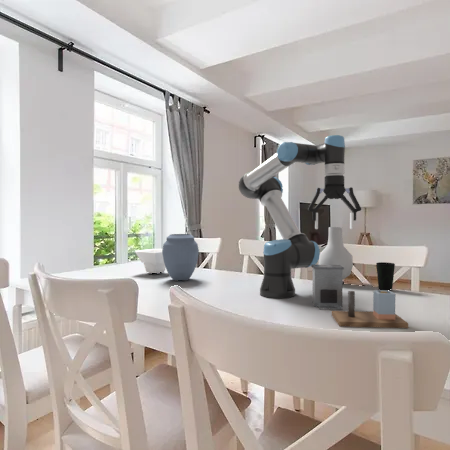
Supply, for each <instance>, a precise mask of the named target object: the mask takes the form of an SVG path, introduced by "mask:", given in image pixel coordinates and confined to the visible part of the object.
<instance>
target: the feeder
mask: <svg viewBox="0 0 450 450" xmlns="http://www.w3.org/2000/svg"><path fill="white" fill-rule="evenodd" d="M311 268H312V304H313V306H314V307H315V308H316V307H317V308H318V310H322V311H323V310H325V311H326V310H327V311H343V280H342V272H343V270H344V267H342V266H341V265H319V264H315V265H311Z"/></svg>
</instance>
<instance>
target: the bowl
mask: <svg viewBox="0 0 450 450" xmlns="http://www.w3.org/2000/svg"><path fill="white" fill-rule="evenodd" d="M162 249H163V248H148V249H140V250H135V251H134V253H135V255H136V256H137V258H138V260H139V261H140V262H141V263H143V265H144V269H145V273H147V272H149V273H148V274H152V273H157V274H161V273H160V272H163V273H165V272H164V271H166V267H165V264H164V260H163V254H162Z"/></svg>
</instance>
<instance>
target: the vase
mask: <svg viewBox="0 0 450 450" xmlns="http://www.w3.org/2000/svg"><path fill="white" fill-rule="evenodd" d="M161 249H162V254H163V260H164V264H165V267H166V268H165V270H166V271H167V273H168V276H169V277H170V278H171V279H172V280H173V281H175V280H186V281H188V280H189V279H190V278H191V277H192V275H193V274H194V273H195V270H196V266H197V264H198V259H199V253H200V252H199V251H200V250H199V244H198V243H197V241H195V236H194V235H192V234H191V233H190V234H189V233H173V234H172V233H171V234H169V235H168V236H166V241H165V242H164V243H163V245H162V248H161Z"/></svg>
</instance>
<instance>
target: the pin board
mask: <svg viewBox="0 0 450 450" xmlns="http://www.w3.org/2000/svg"><path fill="white" fill-rule="evenodd" d="M381 293H387V292H385V291H381ZM355 295H356V294H355V291H354V290H348V291H347V303H348V304H347V306H348V307H347V310H331V316H332V317H333V319H334V321H335V322H336V323H337V325H338V326H339V327H347V328H349V327H351V328H352V327H353V328H387V329H391V328H392V329H409V322H407V320H405V319H403V318H402V317H401V316H399V315H398V314H396V313H395V320H388V319H378V318H376V317H375V316H374V315H373V311H364V310H363V311H361V310H358V311H356V308H355V307H356V296H355Z"/></svg>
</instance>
